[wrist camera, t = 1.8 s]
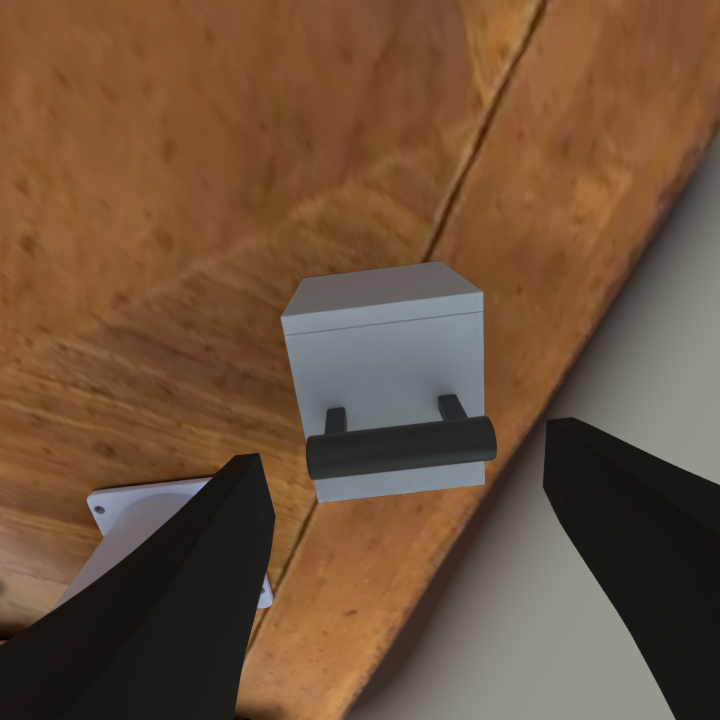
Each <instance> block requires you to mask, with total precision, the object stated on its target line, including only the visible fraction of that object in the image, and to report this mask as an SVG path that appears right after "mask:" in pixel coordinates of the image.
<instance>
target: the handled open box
mask: <svg viewBox="0 0 720 720" xmlns="http://www.w3.org/2000/svg"><path fill="white" fill-rule="evenodd" d="M281 323H282V328H283V333H284V335H285V342H286V347H287V352H288V357H289V362H290V367H291V372H292V377H293V382H294V387H295V392H296V397H297V401H298V406H299V411H300V416H301V421H302V426H303V431H304V436H305V441H306V462H307V468H308V473H309V476H310V478H311V479H312V480H314V485H315V490H316V495H317V500H318V503H322V502H331V501H340V500H349V499H358V498H367V497H376V496H385V495H394V494H403V493H412V492H421V491H430V490H439V489H448V488H457V487H466V486H475V485H484V484H485V466H484V461H489V460H493V459H495V457H496V453H497V442H496V435H495V431H494V428H493V425H492V423H491V421H490V419H489V418H488V417H487V416H484V329H483V292H482V291H481V290H480V289H478V288H477V287H476V286H474V285H473V284H472V283H470V282H469V281H468V280H466V279H465V278H463V277H462V276H461V275H459V274H458V273H457V272H455V271H454V270H453V269H451V268H450V267H449V266H447V265H446V264H444V263H443V262H442V261H435V262H427V263H420V264H412V265H404V266H396V267H388V268H380V269H372V270H364V271H356V272H348V273H340V274H333V275H325V276H317V277H309V278H303V279H302V281H301V283H300V284H299V286H298V288H297V289H296V291H295V293H294V295H293V296H292V298H291V300H290V302H289V303H288V305H287V307H286V309H285V310H284V312H283V314H282V316H281Z"/></svg>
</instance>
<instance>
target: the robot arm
mask: <svg viewBox="0 0 720 720" xmlns="http://www.w3.org/2000/svg"><path fill="white" fill-rule="evenodd" d="M543 478H544V479H543V488H544V490H545V493H546V495H547V497H548V499H549V501H550V503H551V506H552V507H553V510H554V512H555V513H556V516H557V518H558V520H559V522H560V524H561V525H562V527H563V529H564V530H565V532H566V533H567V535H568V536H569V538H570V540H571V541H572V543H573V544H574V546H575V547H576V549H577V551H578V552H579V554H580V555H581V557H582V558H583V560H584V561H585V563H586V564H587V566H588V568H589V569H590V571H591V572H592V574H593V575H594V577H595V578H596V580H597V581H598V583H599V584H600V586H601V587H602V589H603V591H604V592H605V593H606V595H607V597H608V598H609V600H610V601H611V603H612V604H613V606H614V607H615V609H616V610H617V612H618V613H619V615H620V617H621V618H622V620H623V622H624V623H625V625H626V627H627V628H628V630H629V632H630V633H631V635H632V637H633V639H634V640H635V642H636V644H637V646H638V648H639V650H640V651H641V654H642V656H643V658H644V659H645V661H646V663H647V665H648V667H649V669H650V671H651V672H652V674H653V676H654V678H655V680H656V682H657V684H658V686H659V688H660V689H661V691H662V693H663V695H664V697H665V699H666V701H667V703H668V705H669V707H670V709H671V711H672V713H673V715H674V717H675V719H676V720H720V485H718V484H716V483H714V482H711V481H709V480H707V479H704V478H702V477H700V476H697V475H695V474H693V473H691V472H688V471H686V470H684V469H681V468H679V467H677V466H675V465H672V464H670V463H668V462H666V461H664V460H662V459H660V458H657V457H655V456H653V455H651V454H649V453H647V452H645V451H643V450H641V449H639V448H637V447H635V446H632V445H630V444H628V443H626V442H624V441H622V440H620V439H618V438H616V437H614V436H612V435H610V434H608V433H606V432H604V431H602V430H600V429H598V428H596V427H594V426H591V425H589V424H587V423H585V422H582V421H580V420H578V419H575V418H573V417H569V418H560V419H552V420H547V427H546V443H545V461H544V476H543ZM87 503H88V506H89V508H90V510H91V512H92V514H93V516H94V518H95V520H96V522H97V525H98V527H99V529H100V531H101V533H102V535H103V537H104V538H103V540H102V541H101V542H100V544H99V545H98V547H97V548H96V549H95V551H94V552H93V554H92V555H91V556H90V558H89V559H88V560H87V562H86V563H85V565H84V566H83V567H82V569H81V570H80V572H79V573H78V574H77V576H76V577H75V579H74V580H73V581H72V583H71V584H70V585H69V587H68V588H67V590H66V591H65V592H64V594H63V595H62V597H61V598H60V599H59V601H58V602H57V604H56V605H55V606H54V608H53V609H52V610H51V612H50V613H49V614H47V615H46V616H44V617H43V618H41V619H40V620H38V621H37V622H36V623H34V624H33V625H31V626H30V627H28V628H27V629H25V630H24V631H22V632H20V633H19V634H17V635H16V636H14V637H13V638H11V639H9V640H8V641H6V642H5V643H3V644H1V645H0V720H233V719H234V713H235V706H236V700H237V694H238V688H239V682H240V676H241V671H242V667H243V662H244V658H245V654H246V649H247V645H248V641H249V637H250V634H251V630H252V626H253V622H254V618H255V614H256V610H257V609H259V608H267V607H269V606H271V605H272V602H273V594H272V590H271V587H270V583H269V580H268V576H267V573H266V571H267V567H268V563H269V559H270V555H271V548H272V541H273V533H274V524H275V513H274V509H273V505H272V501H271V497H270V493H269V489H268V485H267V481H266V478H265V474H264V470H263V466H262V462H261V458H260V454H259V453H254V454H245V455H236V456H234V457H233V458H232V459H231V460H230V461H229V462H228V463H227V464H226V465H225V466H224V467H223V468H222V469H220V470H219V471H218V472H217V473H216V474H215V475H214V476H213V477H209V478H200V479H191V480H182V481H173V482H165V483H156V484H147V485H138V486H130V487H121V488H112V489H103V490H96V491H93V492H92V493H91V494H90V495H89V496H88V497H87ZM100 506H101V507H103V508H101V507H100Z"/></svg>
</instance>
